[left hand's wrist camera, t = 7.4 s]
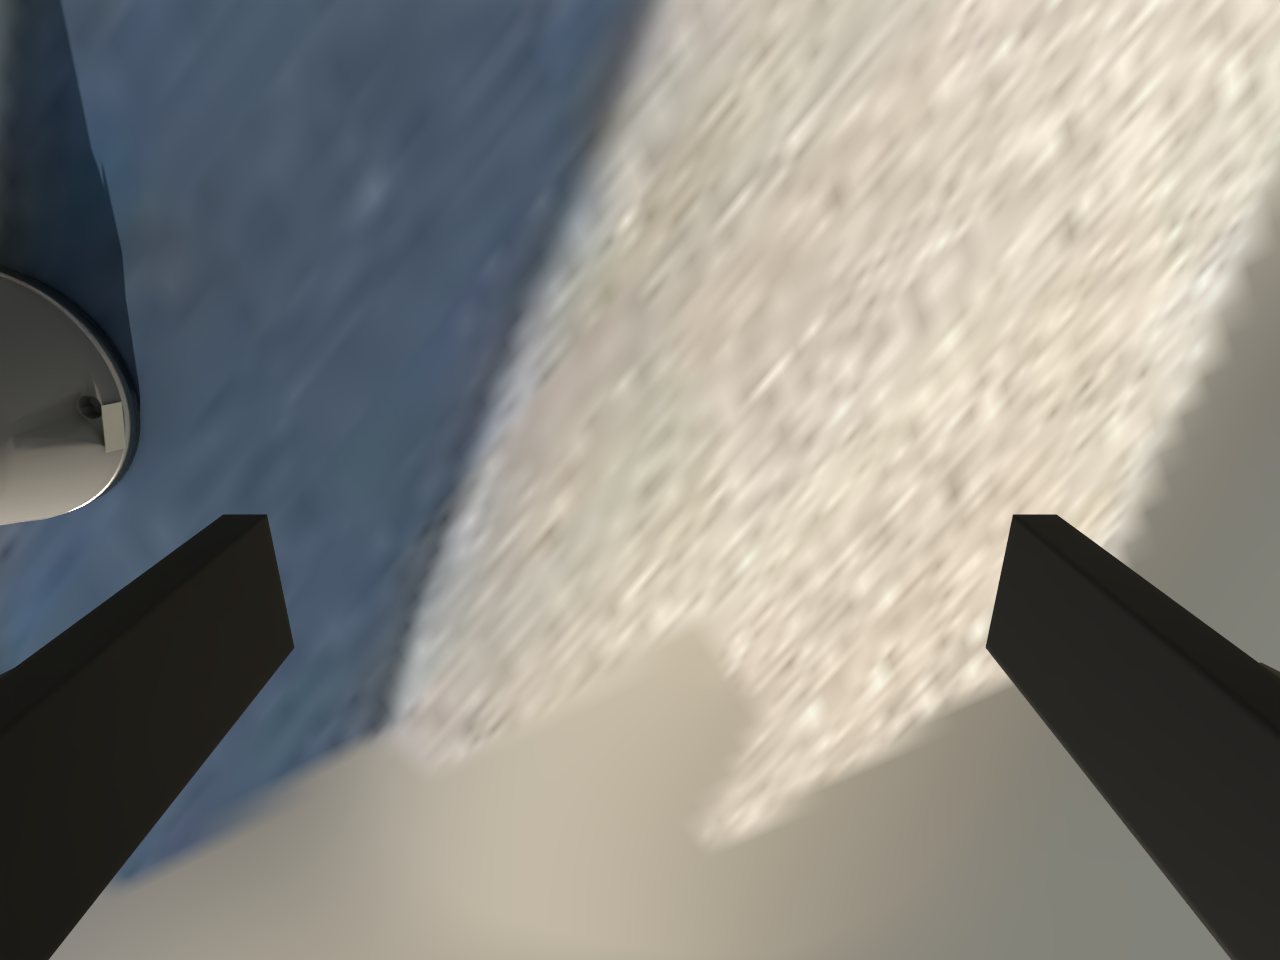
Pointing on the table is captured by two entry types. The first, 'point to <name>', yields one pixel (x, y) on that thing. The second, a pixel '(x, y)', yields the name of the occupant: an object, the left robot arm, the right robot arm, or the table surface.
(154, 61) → the table surface
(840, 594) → the table surface
